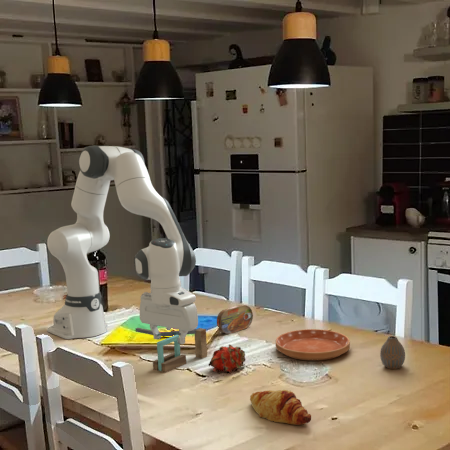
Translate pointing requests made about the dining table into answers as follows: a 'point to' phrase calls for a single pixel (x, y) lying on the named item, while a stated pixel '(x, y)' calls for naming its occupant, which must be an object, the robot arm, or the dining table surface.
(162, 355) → the square ring
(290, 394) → the croissant
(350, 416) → the dining table surface
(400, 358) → the vase
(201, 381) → the dining table surface
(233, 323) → the tin
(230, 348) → the dragon fruit
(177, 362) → the slot block
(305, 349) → the saucer
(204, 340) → the curved rod stand
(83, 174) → the robot arm
